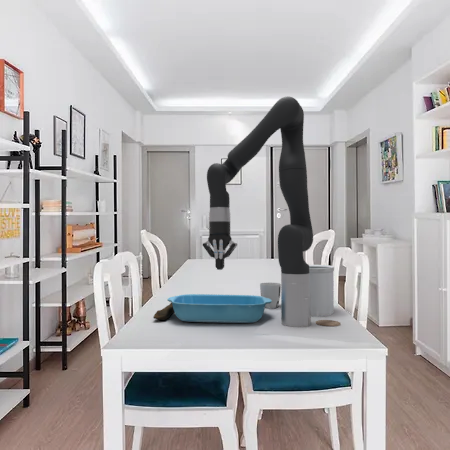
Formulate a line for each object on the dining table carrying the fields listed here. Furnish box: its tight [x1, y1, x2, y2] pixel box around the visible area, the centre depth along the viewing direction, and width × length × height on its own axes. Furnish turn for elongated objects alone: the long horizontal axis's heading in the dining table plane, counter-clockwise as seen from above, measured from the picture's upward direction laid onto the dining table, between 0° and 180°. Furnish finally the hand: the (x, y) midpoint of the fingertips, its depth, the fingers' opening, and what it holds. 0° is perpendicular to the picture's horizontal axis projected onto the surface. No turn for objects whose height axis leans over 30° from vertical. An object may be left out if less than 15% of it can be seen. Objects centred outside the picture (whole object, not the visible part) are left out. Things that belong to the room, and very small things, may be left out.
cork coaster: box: [315, 319, 341, 327], centre depth 139 cm, size 8×8×1 cm
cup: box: [259, 282, 281, 309], centre depth 164 cm, size 8×8×10 cm
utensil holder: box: [308, 264, 335, 317], centre depth 156 cm, size 15×15×18 cm
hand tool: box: [152, 302, 175, 321], centre depth 153 cm, size 19×4×5 cm
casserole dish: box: [167, 293, 272, 324], centre depth 149 cm, size 37×22×7 cm, turn 88°
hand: (219, 269), depth 149 cm, fingers closed
